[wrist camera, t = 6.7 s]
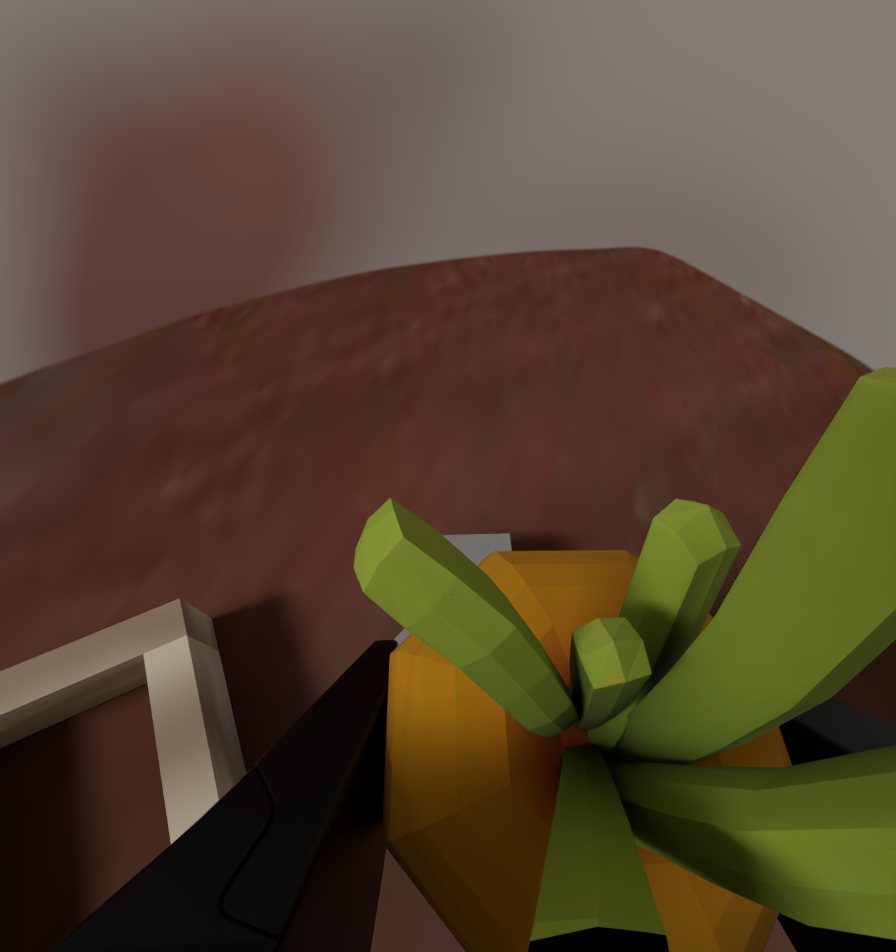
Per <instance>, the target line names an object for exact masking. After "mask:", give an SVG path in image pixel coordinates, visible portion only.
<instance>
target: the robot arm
mask: <svg viewBox="0 0 896 952" xmlns="http://www.w3.org/2000/svg"><path fill="white" fill-rule="evenodd" d="M398 646H399V645H398V642H397V641H396V640H381V641H375V642H374V643H373V644H372V645H371V646H370V647H369V648H368V649H367V650H366V651H365V652H364V653H363V654H362V655H361V656H360V657H359V658H358V659H357V660H356V661H355V662H354V663H353V664H352V665H351V666H350V667H349V668H348V669H347V670H346V671H345V672H344V673H343V674H342V675H341V676H340V677H339V678H338V680H337V681H336V682H335V683H334V684H333V685H332V686H331V687H330V688H329V689H328V690H327V691H326V692H325V693H324V694H323V695H322V696H321V697H320V698H319V699H318V700H317V701H316V702H315V703H314V704H313V705H312V706H311V707H310V708H309V709H308V710H307V711H306V712H305V713H304V714H303V715H302V716H301V717H300V718H299V719H298V720H297V721H296V722H295V724H294V725H293V726H292V727H291V728H290V729H289V730H288V731H287V732H286V733H285V734H284V735H283V736H282V737H281V738H280V739H279V740H278V741H277V742H276V743H275V744H274V745H273V746H272V747H271V748H270V749H269V750H268V751H267V752H266V753H265V754H264V755H263V756H262V757H261V758H260V759H259V760H258V761H257V762H256V764H255V767H252V768H250V769H249V770H248V771H247V772H246V773H245V774H244V775H243V776H242V777H241V779H240V780H239V781H238V782H237V783H236V784H235V785H234V786H233V787H232V788H231V789H230V790H229V791H228V792H227V793H225V794H224V795H223V796H222V797H221V798H220V799H219V800H218V801H217V802H216V803H215V804H214V805H213V806H212V807H211V808H210V809H209V810H208V811H207V812H206V813H205V814H204V815H203V816H202V817H201V818H200V819H199V820H198V821H196V822H195V823H194V824H193V825H192V826H191V827H190V828H189V829H188V830H186V831H185V832H184V833H183V834H182V835H181V836H180V837H179V838H178V839H176V840H175V841H174V842H173V843H172V844H171V845H170V846H169V847H167V848H166V849H165V850H164V851H163V852H162V853H161V854H160V855H159V856H157V857H156V858H155V859H154V860H153V861H152V862H150V863H149V864H148V865H147V866H146V867H145V868H144V869H142V870H141V871H140V872H139V873H138V874H137V875H135V876H134V877H133V878H132V879H131V880H130V881H129V882H127V883H126V884H125V885H124V886H123V887H122V888H120V889H119V890H118V891H117V892H116V893H115V894H114V895H112V896H111V897H110V898H109V899H108V900H107V901H105V902H104V903H103V904H102V905H101V906H100V907H98V908H97V909H96V910H95V911H94V912H93V913H92V914H90V915H89V916H88V917H87V918H86V919H85V920H83V921H82V922H81V923H80V924H79V925H78V926H77V927H75V928H74V929H73V930H72V931H71V932H70V933H68V934H67V935H66V936H65V937H64V938H63V939H62V940H60V941H59V942H58V943H57V944H56V945H55V946H53V947H52V948H51V949H50V950H49V951H48V952H370V951H371V945H372V938H373V932H374V925H375V919H376V912H377V906H378V899H379V893H380V886H381V880H382V873H383V867H384V860H385V854H386V847H385V845H384V844H383V843H382V819H383V797H384V775H385V753H386V730H387V708H388V686H389V664H390V654H391V653H392V652H393V651H394V650H395V649H396V648H397V647H398ZM779 729H780V732H781V735H782V738H783V740H784V743H785V746H786V749H787V752H788V755H789V758H790V761H791V764H792V766H793V765H798V764H803V763H808V762H813V761H818V760H823V759H828V758H833V757H838V756H843V755H848V754H853V753H858V752H863V751H868V750H873V749H878V748H883V747H888V746H893V745H896V725H895V724H893V723H891V722H888V721H886V720H884V719H881V718H879V717H877V716H875V715H872V714H870V713H868V712H865V711H863V710H861V709H859V708H856V707H854V706H852V705H849V704H847V703H845V702H843V701H840V700H838V699H836V698H833V697H832V698H830V699H828V700H826V701H825V702H823V703H821V704H819V705H817V706H815V707H813V708H811V709H810V710H808V711H806V712H804V713H802V714H800V715H798V716H796V717H795V718H793V719H791V720H789V721H787V722H785V723H783V724H781V725H780V726H779ZM777 919H778V920H779V922H780V924H781V926H782V927H783V929H784V931H785V932H786V934H787V936H788V938H789V939H790V941H791V943H792V945H793V946H794V948H795V950H796V951H797V952H896V940H893V939H887V938H881V937H875V936H869V935H862V934H856V933H850V932H844V931H838V930H832V929H825V928H819V927H813V926H808V925H806V924H803V923H801V922H799V921H796V920H794V919H792V918H790V917H787V916H785V915H783V914H780V913H779V915H778V917H777Z"/></svg>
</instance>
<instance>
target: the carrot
mask: <svg viewBox="0 0 896 952" xmlns="http://www.w3.org/2000/svg"><path fill="white" fill-rule="evenodd" d="M740 547H741V544H740V542H739V540H738V539H737V537H736V535H735V533H734V531H733V530H732V528H731V526H730V524H729V522H728V521H727V519H726V517H725V515H724V514H723V513H722V512H720V511H718V510H716V509H714V508H712V507H711V506H709V505H705V504H700V503H697V502H694V501H688V500H681V499H675V500H674V501H673V502H672V503H671V504H669V505H668V506H667V507H666V508H665V509H664V510H662V511H661V512H660V513H659V514H658V515H656V516H655V517H654V518H653V521H652V524H651V527H650V529H649V532H648V535H647V538H646V541H645V543H644V546H643V549H642V552H641V554H640V557H639V560H638V559H637V558H636V557H634V556H633V555H632V554H630V553H629V552H628V551H627V550H606V551H494V552H492V553H490V554H488V555H487V556H486V557H485V558H484V559H483V560H482V561H481V562H480V563H479V564H478V565H476V564H474V563H473V562H472V561H471V560H470V559H469V558H468V557H466V556H465V555H464V554H463V553H462V552H461V551H460V550H459V549H457V548H456V547H455V546H454V545H453V544H452V543H451V542H449V541H448V540H447V539H446V538H445V537H444V536H443V535H441V534H440V533H439V532H438V531H437V530H436V529H434V528H433V527H432V526H430V525H429V524H427V523H426V522H424V521H423V520H422V519H420V518H419V517H417V516H416V515H415V514H413V513H412V512H410V511H409V510H407V509H406V508H405V507H403V506H402V505H400V504H399V503H397V502H396V501H395V500H393V499H392V498H390V499H389V500H387V501H386V502H385V503H384V504H383V505H382V506H381V507H380V508H379V509H378V510H377V511H376V512H375V513H374V514H373V515H371V516H370V517H369V518H368V521H367V523H366V525H365V528H364V530H363V532H362V535H361V537H360V539H359V542H358V544H357V546H356V551H355V560H354V570H355V573H356V575H357V578H358V580H359V583H360V585H361V588H362V590H363V593H365V594H366V595H367V596H368V597H369V598H370V599H372V600H373V601H374V602H375V603H376V604H377V605H378V606H380V607H381V608H382V609H383V610H384V611H385V612H387V613H388V614H389V615H390V616H391V617H392V618H394V619H395V620H396V621H397V622H398V623H399V624H400V625H402V626H403V627H404V628H405V629H406V630H408V631H409V632H410V634H409V635H408V636H407V637H406V638H405V639H404V640H403V641H402V643H401V644H400V645H399V646H398V647H397V648H396V649H395V650H394V651H393V652H392V653H391V654H390V664H389V686H388V708H387V730H386V753H385V775H384V797H383V819H382V843H383V844H384V845H385V847H386V848H387V849H388V850H389V852H390V853H391V854H392V856H393V857H394V858H395V860H396V861H397V862H398V864H399V865H400V866H401V867H402V869H403V870H404V871H405V873H406V874H407V875H408V877H409V878H410V879H411V880H412V882H413V883H414V884H415V886H416V887H417V888H418V890H419V891H420V892H421V894H422V895H423V896H424V897H425V899H426V900H427V901H428V903H429V904H430V905H431V907H432V908H433V909H434V911H435V912H436V913H437V914H438V916H439V917H440V918H441V920H442V921H443V922H444V924H445V925H446V926H447V927H448V929H449V930H450V931H451V933H452V934H453V935H454V937H455V938H456V939H457V941H458V942H459V943H460V944H461V946H462V947H463V948H464V950H465V951H466V952H763V950H764V948H765V946H766V943H767V941H768V939H769V936H770V934H771V931H772V929H773V927H774V924H775V922H776V920H777V917H778V915H779V913H780V914H783V915H785V916H787V917H790V918H792V919H794V920H796V921H799V922H801V923H803V924H806V925H808V926H813V927H819V928H825V929H832V930H838V931H844V932H850V933H856V934H862V935H869V936H875V937H881V938H887V939H893V940H896V745H893V746H888V747H883V748H878V749H873V750H868V751H863V752H858V753H853V754H848V755H843V756H838V757H833V758H828V759H823V760H818V761H813V762H808V763H803V764H798V765H793V766H792V764H791V761H790V758H789V755H788V752H787V749H786V746H785V743H784V740H783V738H782V735H781V732H780V729H779V726H780V725H781V724H783V723H785V722H787V721H789V720H791V719H793V718H795V717H796V716H798V715H800V714H802V713H804V712H806V711H808V710H810V709H811V708H813V707H815V706H817V705H819V704H821V703H823V702H825V701H826V700H828V699H830V698H832V697H833V696H834V695H835V694H836V693H837V692H838V691H839V690H840V689H842V688H843V687H844V686H845V685H846V684H847V683H848V682H849V681H850V680H852V679H853V678H854V677H855V676H856V675H857V674H858V673H859V672H860V671H862V670H863V669H864V668H865V667H866V666H867V665H868V664H869V663H870V662H871V661H873V660H874V659H875V658H876V657H877V656H878V655H879V654H880V653H881V652H883V651H884V650H885V649H886V648H887V647H888V646H889V645H890V644H891V643H893V642H894V641H895V640H896V368H881V369H879V370H876V371H874V372H871V373H869V374H866V375H864V376H861V377H860V378H859V379H858V381H857V382H856V384H855V386H854V387H853V389H852V390H851V392H850V394H849V395H848V397H847V398H846V400H845V401H844V403H843V405H842V406H841V408H840V409H839V411H838V412H837V414H836V416H835V417H834V419H833V420H832V422H831V424H830V425H829V427H828V428H827V430H826V431H825V433H824V435H823V436H822V438H821V439H820V441H819V442H818V444H817V446H816V447H815V449H814V450H813V452H812V454H811V455H810V457H809V458H808V460H807V461H806V463H805V465H804V466H803V468H802V469H801V471H800V472H799V474H798V476H797V477H796V479H795V480H794V482H793V484H792V485H791V487H790V488H789V490H788V491H787V493H786V495H785V496H784V498H783V499H782V501H781V502H780V504H779V506H778V508H777V509H776V511H775V513H774V514H773V516H772V518H771V520H770V521H769V523H768V525H767V527H766V528H765V530H764V532H763V534H762V535H761V537H760V539H759V541H758V542H757V544H756V546H755V548H754V549H753V551H752V553H751V555H750V556H749V558H748V560H747V561H746V563H745V565H744V567H743V568H742V570H741V572H740V574H739V575H738V577H737V579H736V581H735V582H734V584H733V586H732V588H731V589H730V591H729V593H728V595H727V596H726V598H725V600H724V602H723V603H722V605H721V607H720V608H719V610H718V612H717V614H716V615H715V617H714V618H713V617H712V616H711V615H709V612H710V610H711V608H712V606H713V604H714V602H715V600H716V598H717V595H718V593H719V591H720V589H721V587H722V585H723V583H724V581H725V579H726V576H727V574H728V572H729V570H730V568H731V566H732V564H733V562H734V560H735V557H736V555H737V553H738V551H739V549H740Z"/></svg>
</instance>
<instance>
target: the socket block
mask: <svg viewBox="0 0 896 952" xmlns="http://www.w3.org/2000/svg"><path fill="white" fill-rule="evenodd" d="M146 683H148V689H149V696H150V703H151V710H152V717H153V724H154V731H155V738H156V744H157V751H158V758H159V765H160V772H161V779H162V786H163V793H164V799H165V806H166V813H167V820H168V827H169V834H170V841H171V844H172V843H173V842H174V841H175V840H176V839H178V838H179V837H180V836H181V835H182V834H183V833H184V832H185V831H186V830H188V829H189V828H190V827H191V826H192V825H193V824H194V823H195V822H196V821H198V820H199V819H200V818H201V817H202V816H203V815H204V814H205V813H206V812H207V811H208V810H209V809H210V808H211V807H212V806H213V805H214V804H215V803H216V802H217V801H218V800H219V799H220V798H221V797H222V796H223V795H224V794H225V793H227V792H228V791H229V790H230V789H231V788H232V787H233V786H234V785H235V784H236V783H237V782H238V781H239V780H240V779H241V777H242V776H243V775H244V774H245V773H246V770H245V765H244V761H243V756H242V752H241V748H240V743H239V739H238V734H237V730H236V725H235V721H234V716H233V712H232V707H231V703H230V699H229V694H228V690H227V685H226V681H225V676H224V672H223V667H222V663H221V658H220V654H219V649H218V645H217V641H216V636H215V632H214V627H213V623H212V619H211V618H210V617H208V616H207V615H205V614H204V613H202V612H200V611H199V610H197V609H196V608H194V607H192V606H191V605H189V604H188V603H186V602H185V601H183V600H181V599H177V600H175V601H172V602H170V603H167V604H165V605H162V606H160V607H158V608H155V609H153V610H150V611H148V612H145V613H143V614H140V615H138V616H135V617H133V618H131V619H128V620H126V621H123V622H121V623H118V624H116V625H113V626H111V627H109V628H106V629H104V630H101V631H99V632H96V633H94V634H91V635H89V636H86V637H84V638H82V639H79V640H77V641H74V642H72V643H69V644H67V645H64V646H62V647H60V648H57V649H55V650H52V651H50V652H47V653H45V654H42V655H40V656H37V657H35V658H33V659H30V660H28V661H25V662H23V663H20V664H18V665H15V666H13V667H11V668H8V669H6V670H3V671H1V672H0V748H2V747H4V746H7V745H9V744H11V743H13V742H16V741H18V740H20V739H22V738H25V737H27V736H29V735H31V734H34V733H36V732H38V731H40V730H43V729H45V728H47V727H49V726H52V725H54V724H56V723H58V722H61V721H63V720H65V719H67V718H70V717H72V716H74V715H76V714H79V713H81V712H83V711H85V710H88V709H90V708H92V707H94V706H97V705H99V704H101V703H103V702H106V701H108V700H110V699H112V698H115V697H117V696H119V695H121V694H124V693H126V692H128V691H130V690H133V689H135V688H137V687H139V686H142V685H144V684H146Z"/></svg>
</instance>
